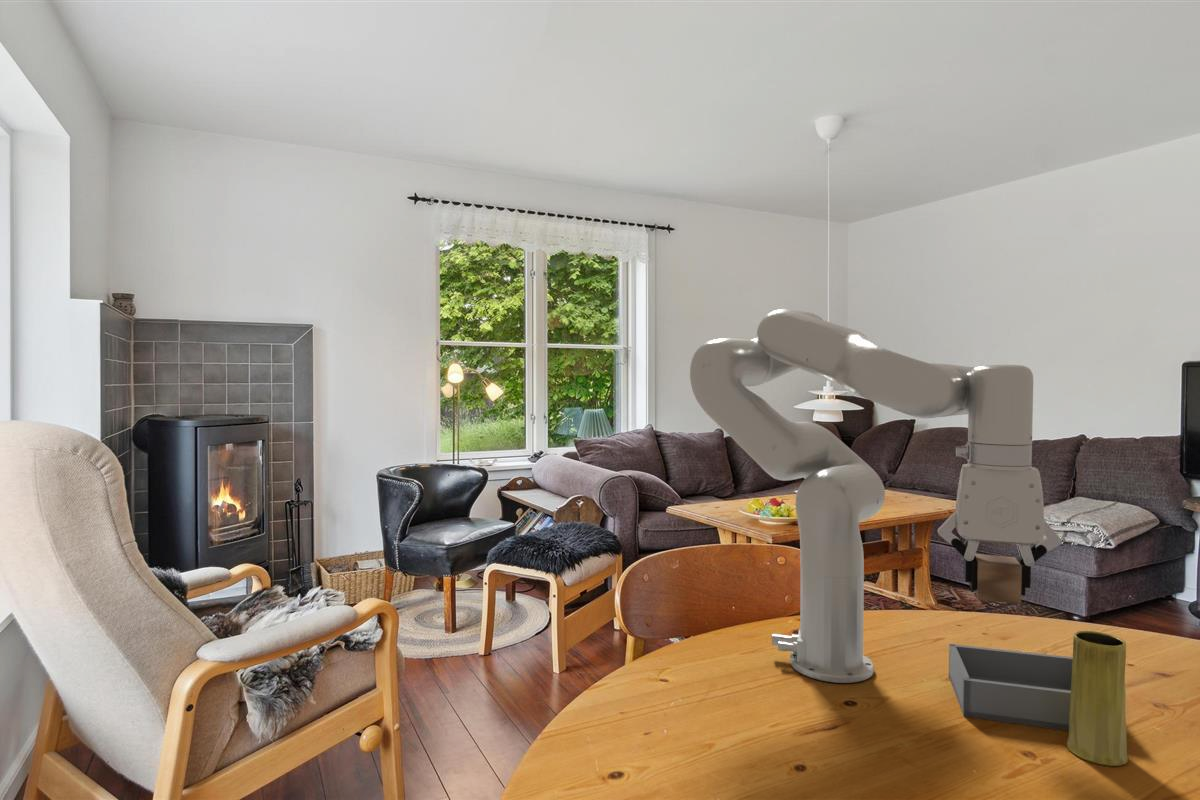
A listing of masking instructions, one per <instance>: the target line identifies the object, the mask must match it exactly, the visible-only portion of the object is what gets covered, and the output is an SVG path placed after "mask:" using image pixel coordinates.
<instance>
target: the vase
mask: <svg viewBox="0 0 1200 800" xmlns="http://www.w3.org/2000/svg"><path fill="white" fill-rule="evenodd" d="M1072 640H1073V641H1072V642H1073V643H1072V645H1073V647H1072V657H1073V662H1072V679H1071V698H1070V713H1069V731H1068V738H1067V741H1066V746H1067V749H1068V750H1069V751H1070V752H1071V753H1072V754H1073V755H1075V756H1076V757H1079V758H1080V759H1083V760H1085V761H1087V762H1091V763H1093V764H1098V765H1100V766H1107V767H1120V766H1125V765H1126V764H1127V763H1128V761H1129V758H1128V750H1127V749H1128V748H1127V747H1128V746H1127V745H1128V744H1127V743H1128V742H1127V741H1128V740H1127V721H1126V699H1127V697H1126V696H1127V695H1126V678H1125V677H1126V676H1125V675H1126V659H1127V653H1126V652H1127V642H1126V641H1125V640H1124V639H1122V638H1120V637H1118V636H1116V635H1112V634H1109V633H1106V632H1101V631H1092V630H1078V631H1076V632H1074V633H1073V637H1072Z"/></svg>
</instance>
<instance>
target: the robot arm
mask: <svg viewBox="0 0 1200 800" xmlns="http://www.w3.org/2000/svg"><path fill="white" fill-rule="evenodd" d="M689 369H690V370H689V380H690V386H691V389H692V392H693V395H694V397H695V400H696V401H697V403H698V404H699V406H700V407H701V408H702V410H703V412H704V413H706V415H708V416H709V417H710V418H711V419H712V421H714V422H715V424H717V425H718V426H719V427H720V428H721V429H722V430H723V431H724V432H725V433H727V435H729V437H730V438H732V439H733V441H734V442H735V443H736V444H737V445H738V446H739V447H740V448H741V449H742V450H743V451H744V452H745V453H746V454H747V455H748V456H749V457H750V458H751V459H752V460H753V461H754V462H755V463H756V464H757V465H758V466H759V467H760V468H761V469H762V470H763V471H764V472H765V473H766V474H768V475H769V476H770V477H771V478H773V479H774V480H778V481H785V482H786V481H793V480H794V481H795V480H799V479H803V478H804V479H803V481H802V482H801V484H800V485H799V487H798V490H797V491H796V497H795V513H796V519H797V525H798V532H799V547H800V550H799V551H800V557H799V558H800V562H799V563H800V564H799V565H800V593H799V594H800V596H799V597H800V603H799V605H800V607H799V609H800V610H799V611H800V612H799V613H800V615H799V617H800V618H799V619H800V620H799V621H800V622H799V623H800V624H799V625H800V626H799V627H800V628H799V629H798V633H792V634H791V635H785V634H782V633H772V634H771V646H775V647H777V650H778V651H780V652H790V655H789V663H790V665H791V667H792V668H793V669H794V670H795V671H796V672H798V673H800V674H802V675H804V676H806V677H808V678H811V679H815V680H818V681H822V682H829V683H835V684H836V683H839V684H840V683H841V684H850V683H851V684H852V683H859V682H863V681H866V680H868V679H869V678H871V677H872V676H873V675H874V672H875V671H874V668H875V667H874V662H873V661H872V660H871V659H870V658H869V657H868V656H866V655H864V615H865V614H864V610H865V609H864V605H865V603H864V602H865V601H864V597H865V595H864V594H865V591H864V589H865V588H864V587H865V585H864V584H865V583H864V582H865V581H864V580H865V571H864V570H865V566H864V565H865V563H864V562H865V561H864V560H865V559H864V547H863V541H862V537H861V531H860V522H863V521H866V520H868V519H870V518H872V517H874V516H875V515H876V514H878V513H879V511H881V509H882V508H883V505H884V503H885V500H886V499H885V498H886V491H885V490H886V489H885V486H884V483H883V481H882V479H881V477H880V476H879V474H878V472H876V471H875V470H874V469H873V467H871V466H870V465H869V464H868V463H867V462H866V461H865V460H863V459H862V458H861V457H860V456H859V455H858V454H857V453H856V452H854V451H853V450H852V449H851V448H850V447H849V446H848V445H846V443H844V442H843V441H842V440H841V439H839V438H838V437H837V436H836V435H835V434H834V433H833V432H832V431H830V430H828V429H827V428H826V427H824V426H822V425H820V424H818V423H816V422H812V421H796V422H794V421H790V420H788V419H787V418H785V417H784V416H783V415H781V414H780V413H779V412H778V411H776V409H774V408H773V406H771V405H770V404H769V403H768V402H767V401H766V400H764V399H763V398H762V397H761V396H759V395H757V394H756V393H754V392H753V391H752V390H750V389H748V388H747V387H755V386H760V385H763V384H766V383H768V382H770V381H773V380H775V379H777V378H779V377H782V376H784V375H786V374H788V373H791V372H792V371H795V370H797V369H800V370H802V371H806V372H808V373H810V374H813V375H816V376H818V377H821V378H824V379H825V380H828V381H830V382H834V383H836V384H838V385H839V386H841V387H842V388H844V389H846V390H849V391H851V392H853V393H854V394H856V395H858V396H860V397H862V398H865V399H866V400H869V401H870V402H873V403H876V404H879V405H881V406H884V407H887V408H890V409H892V410H894V411H896V412H900V413H902V414H904V415H908V416H910V417H914V418H919V419H935V418H945V417H952V416H961V415H967V416H968V418H967V419H968V420H967V423H968V424H967V441H966V443H965V445H961V446H955V456H956V457H961V458H964V459H965V460H966V461H967V463H964V464H962V465H961V469H960V473H959V478H958V484H957V491H956V502H955V511H954V512H953V513H952V514H950V516H948V518H947V519H946V520H945V521H944V522H943V523H942V524H941V525H940V527H938V528H937V535H938V536H940V538H942V539H943V540H945V541H946V542H947V543H948V544H950V545H951V546H952V547H953V548H954V549H955V550H956V551H957V552H958V553H959V554H960V555H961V556H962V557H963V558H964V570H963V571H964V573H963V578H964V582H965V583H968V584H969V585H968V586H969V587H970V589H971V591H976V590H977V561H976V556H975V554H977V550H978V547H979V545H980V543H981V542H982V543H992V544H993V543H994V544H1006V545H1007V544H1009V545H1016V548H1017V552H1018V554H1019V557H1018V559H1017V561H1018V562H1019V563H1020V565H1021V566H1022V581H1021V596H1023V597H1024V596H1026V589H1030V588H1031V580H1032V579H1031V578H1032V576H1031V575H1032V571H1031V569H1032V567H1033V565H1035V562H1037V561H1038V560H1039V559H1041V558H1042V557H1043V556H1045V555H1046V554H1047V553H1048V552H1051V551H1053V550H1054V549H1056V548H1057V547H1059V546H1060V545H1062V543H1063V541H1062V539H1061V537H1060V536H1059V535H1058V534H1057V533H1056V532H1055V530H1054V529H1053V528H1052V527H1051V526H1050V525H1049V523H1048V522H1046V520H1045V508H1044V494H1043V493H1044V491H1043V486H1042V479H1041V473H1040V471H1039V468H1036V467H1033V466H1032V461H1033V416H1034V415H1033V413H1034V411H1033V410H1034V408H1033V407H1034V375H1033V372H1032V370H1031V368H1029V367H1027V366H1026V365H1022V364H1021V365H1019V364H987V365H984V364H983V365H979V366H976V367H975V366H966V365H965V366H964V365H959V364H958V365H957V364H956V365H955V364H949V363H947V364H946V363H935V362H934V363H933V362H932V363H929V362H926V361H923V360H918V359H916V358H912V357H910V356H907V355H904V354H901V353H897V352H895V351H892V350H889V349H886V348H884V347H881V346H880V345H876V344H875V343H873V342H872V341H870V340H869V339H868V338H867V336H866V335H865V334H864V333H862V332H860V331H858V330H856V329H852V328H849V327H845V326H842V325H840V324H836V323H832V322H829V321H826V320H824V319H823V318H822V317H821V316H819V315H817V314H815V313H813V312H810V311H803V310H797V309H796V310H795V309H789V308H780V309H776V310H773V311H771V312H769V313H768V314H766V315H765V316H764V317H763V318H762V319H761V321H760V322H759V324H758V326H757V329H756V337H755V338H752V339H742V338H728V337H727V338H726V337H724V338H723V337H722V338H716V339H713V340H708V341H706V342H704V343H703V344H701V345H700V346H698V348H697V349H696V350H695V352H694V353H693V355H692V359H691V361H690V367H689ZM955 528H956V531H957V533H958V535H959V536H960V537H961V538H962V539H965V541H964V542H963V541H962V540H961V539H960V538H959V537H958V536H956V535H955V534H954V533H953V530H954V529H955Z"/></svg>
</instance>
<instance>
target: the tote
mask: <svg viewBox="0 0 1200 800" xmlns="http://www.w3.org/2000/svg"><path fill="white" fill-rule="evenodd" d="M1072 662H1073V656H1064V655H1056V654H1055V655H1054V654H1048V653H1047V654H1045V653H1037V652H1027V651H1021V650H1020V651H1018V650H1010V649H1009V650H1008V649H1000V648H991V647H981V646H973V645H972V646H971V645H963V644H955V643H949V644H948V678H949V680H950V683H951V685H952V689H953V692H954V694H955V696H956V699H957V702H958V704H959V707H960V710H961V713H962V715H963V717H965V718H974V719H980V720H986V721H994V722H1002V723H1010V724H1016V725H1023V726H1030V727H1039V728H1045V729H1054V730H1059V731H1068V732H1069V713H1070V698H1071V679H1072Z"/></svg>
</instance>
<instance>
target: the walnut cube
mask: <svg viewBox="0 0 1200 800" xmlns="http://www.w3.org/2000/svg"><path fill="white" fill-rule="evenodd" d="M975 556H976V561H977V590H976V591H974V590H973V591H974V594H975V597H976V598H977V600H978V601H986V602H994V603H995V602H996V603H1004V604H1005V603H1006V604H1014V605H1022V595H1021V581H1022V566H1021V565H1020V563H1019V562H1018V561H1017V560H1018V559H1017V558H1016V557H1015V556H1004V555H995V554H981V553H976V554H975Z"/></svg>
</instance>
